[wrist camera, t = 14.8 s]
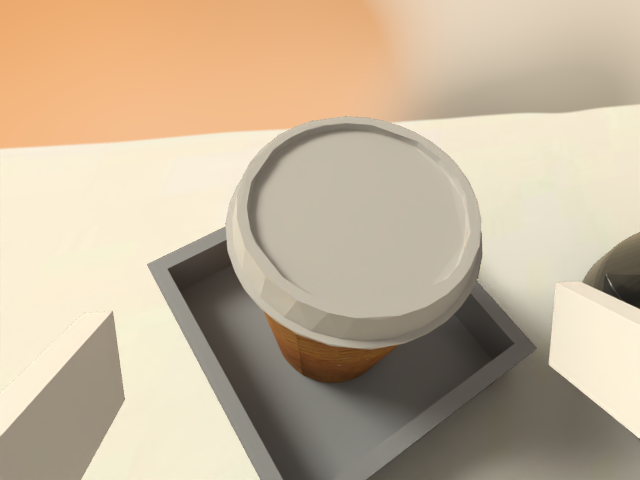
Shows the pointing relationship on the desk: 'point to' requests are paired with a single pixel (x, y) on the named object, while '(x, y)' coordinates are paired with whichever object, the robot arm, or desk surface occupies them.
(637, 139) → the desk surface
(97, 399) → the robot arm
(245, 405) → the charcoal tray
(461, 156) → the desk surface
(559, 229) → the desk surface
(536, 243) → the desk surface
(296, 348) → the disposable coffee cup
